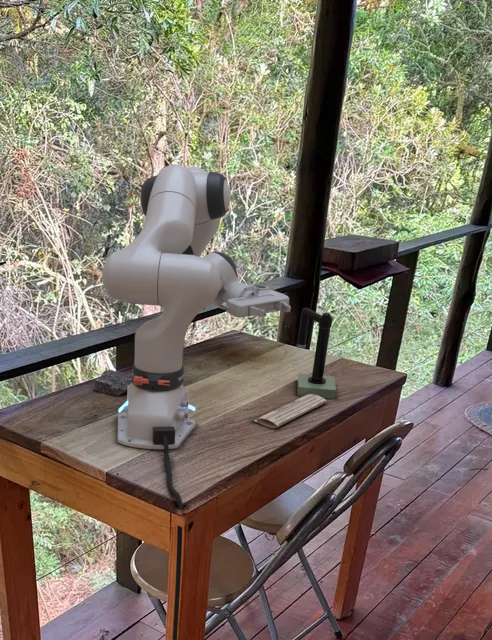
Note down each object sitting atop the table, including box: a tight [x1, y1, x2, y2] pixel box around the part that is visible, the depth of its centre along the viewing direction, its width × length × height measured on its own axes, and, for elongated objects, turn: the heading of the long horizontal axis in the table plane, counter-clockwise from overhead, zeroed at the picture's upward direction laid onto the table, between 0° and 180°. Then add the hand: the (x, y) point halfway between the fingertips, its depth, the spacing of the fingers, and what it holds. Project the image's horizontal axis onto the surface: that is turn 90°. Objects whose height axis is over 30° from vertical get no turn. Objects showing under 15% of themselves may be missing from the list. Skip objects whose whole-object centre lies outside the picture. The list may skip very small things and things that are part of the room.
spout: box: [296, 307, 334, 349], centre depth 201 cm, size 13×3×12 cm, turn 23°
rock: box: [94, 369, 132, 396], centre depth 197 cm, size 8×10×4 cm
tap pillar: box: [308, 326, 331, 384], centre depth 200 cm, size 5×5×15 cm
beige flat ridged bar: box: [253, 394, 327, 429], centre depth 189 cm, size 24×7×2 cm, turn 140°
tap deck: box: [296, 372, 337, 400], centre depth 204 cm, size 11×10×2 cm
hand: (276, 311), depth 211 cm, fingers open, 8 cm apart
